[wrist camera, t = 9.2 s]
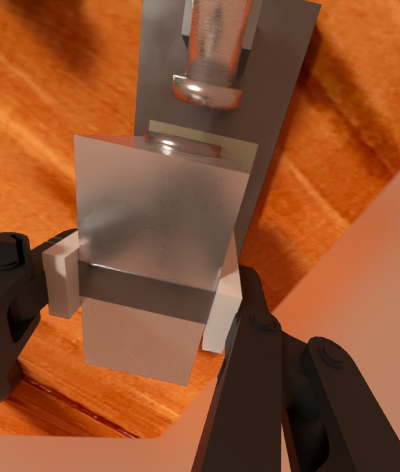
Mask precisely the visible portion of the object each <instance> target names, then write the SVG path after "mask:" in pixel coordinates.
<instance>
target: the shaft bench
mask: <svg viewBox="0 0 400 472" xmlns="http://www.w3.org/2000/svg"><path fill="white" fill-rule="evenodd" d="M321 5H322V4H317V3H313V2H308V1H304V0H143V9H142V24H141V39H140V54H139V69H138V84H137V99H136V114H135V129H134V136H145V130H149V131H155V132H160V133H165V134H170V135H175V136H180V137H184V138H189V139H193V140H197V141H202V142H206V143H210V144H214V145H217V146H220V147H222V150H221V153H225V154H229V155H234V156H236V157H237V158H238V159H239V161H240V162H241V163H242V165H243V166H244V167H245V169H246V170H247V171H248V172H249V174H250V176H249V179H248V182H247V186H246V189H245V193H244V196H243V199H242V203H241V206H240V209H239V213H238V216H237V219H236V223H235V226H234V236H235V244H236V252H237V260H238V258H239V255H240V252H241V249H242V246H243V243H244V240H245V237H246V234H247V231H248V228H249V225H250V222H251V219H252V216H253V213H254V210H255V207H256V203H257V200H258V197H259V194H260V191H261V188H262V185H263V182H264V179H265V176H266V173H267V170H268V167H269V164H270V161H271V158H272V155H273V152H274V149H275V146H276V142H277V139H278V136H279V133H280V130H281V127H282V124H283V121H284V118H285V115H286V112H287V109H288V106H289V103H290V100H291V97H292V94H293V91H294V88H295V85H296V81H297V78H298V75H299V72H300V69H301V66H302V63H303V60H304V57H305V54H306V51H307V48H308V45H309V42H310V39H311V36H312V33H313V30H314V27H315V23H316V20H317V17H318V14H319V11H320V8H321Z"/></svg>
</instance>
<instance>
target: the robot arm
mask: <svg viewBox="0 0 400 472" xmlns="http://www.w3.org/2000/svg"><path fill="white" fill-rule="evenodd" d="M78 261H79V240H78V229H75V228H74V229H70V230H67V231H63V232H62V233H60V234H58V235H56V236H55V237H54V238H51V239H49V240H48V241H47V242H44V243H42V244H41V245H39V246H37V247H36V248H34V249H32V250H30V244H29V239H28V237H27V236H25V235H23V234H20V233H15V232H2V233H0V403H1V402H2V401H4V400H5V399H6V398H7V397H8V396H9V395H11V393H12V392H13V391H14V390H15V389H16V387H17V386H18V385H19V384H20V382H21V380H22V371H21V368H20V366H19V365H18V363H17V362H16V359H17V357H18V356H19V354H20V353H21V351H22V349H23V348H24V346H25V345H26V343H27V341H28V340H29V338H30V337H31V335H32V333H33V332H34V330H35V328H36V327H37V325H38V324H39V321H40V318H41V316H40V310H41V309H42V308H43V307H44V306H45V305H47V304H48V307H49V314H50V315H53V316H58V317H62V318H66V319H70V318H71V316H72V315H73V314H74V313H75V312H76V311H77V309H78V308H79V307H80V306H81V296H79V277H78ZM224 346H225V358H224V361H223V364H222V366H221V369H220V371H219V374H218V377H217V378H218V381H217V384H216V387H215V391H214V394H213V398H212V401H211V405H210V408H209V411H208V415H207V418H206V422H205V425H204V429H203V432H202V436H201V439H200V442H199V446H198V449H197V453H196V456H195V459H194V463H193V466H192V470H191V472H281V422H282V427H283V432H284V437H285V443H286V448H287V453H288V457H289V463H290V468H291V472H400V440H399V439H398V437H397V435H396V433H395V432H394V430H393V428H392V426H391V425H390V423H389V421H388V419H387V418H386V416H385V414H384V413H383V411H382V409H381V407H380V406H379V404H378V402H377V401H376V399H375V397H374V395H373V394H372V392H371V390H370V388H369V386H368V385H367V383H366V381H365V380H364V378H363V376H362V374H361V373H360V371H359V369H358V367H357V366H356V364H355V362H354V361H353V359H352V358H351V357H350V355H349V354H348V353H347V352H346V351H345V350H344V349H343V348H342V347H341V346H339V345H338V344H336V343H334V342H333V341H331V340H329V339H326V338H324V337H313V338H311V339H310V340H309V342H308V343H307V344H306V343H304V342H302V341H300V340H298V339H296V338H294V337H292V336H290V335H288V334H287V333H285V332H283V331H282V329H281V325H280V323H279V322H278V320H277V319H276V318H275V317H274V316H273V315H272V314H271V313H269V312H268V308H267V304H266V300H265V297H264V293H263V290H262V286H261V282H260V278H259V275H258V274H257V273H256V271H255V270H254V269H253V268H250V267H246V266H241V265H238V260H237V252H236V244H235V236H234V230H233V233H232V236H231V240H230V243H229V246H228V250H227V253H226V256H225V260H224V263H223V267H222V270H221V273H220V277H219V280H218V283H217V287H216V295H215V298H214V301H213V305H212V308H211V311H210V315H209V318H208V321H207V325H205V327H204V334H203V345H202V350H206V351H211V352H215V353H219V354H222V352H223V349H224Z"/></svg>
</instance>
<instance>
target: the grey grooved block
mask: <svg viewBox="0 0 400 472" xmlns="http://www.w3.org/2000/svg"><path fill="white" fill-rule="evenodd" d="M221 150H222V147H220V146H217V145H214V144H210V143H206V142H202V141H197V140H193V139H189V138H184V137H180V136H175V135H170V134H165V133H160V132H155V131H149V130H145V136H112V135H79V134H74V153H75V175H76V197H77V218H78V240H79V261H78V277H79V296H81V305H82V327H83V349H84V363H87V364H91V365H95V366H100V367H104V368H108V369H113V370H117V371H121V372H126V373H130V374H134V375H139V376H143V377H147V378H152V379H156V380H160V381H165V382H169V383H173V384H178V385H182V386H186V387H187V384H188V381H189V378H190V374H191V371H192V368H193V364H194V361H195V357H196V354H197V351H198V347H199V344H200V341H201V337H202V334H203V331H204V327H205V325H207V321H208V318H209V315H210V311H211V308H212V305H213V301H214V298H215V295H216V287H217V283H218V280H219V277H220V273H221V270H222V267H223V263H224V260H225V256H226V253H227V250H228V246H229V243H230V240H231V236H232V233H233V230H234V226H235V223H236V219H237V216H238V213H239V209H240V206H241V203H242V199H243V196H244V193H245V189H246V186H247V182H248V179H249V176H250V174H249V172H248V171H247V170H246V169H245V167H244V166H243V165H242V163H241V162H240V161H239V159H238V158H237V157H236V156H234V155H229V154H225V153H221Z"/></svg>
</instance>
